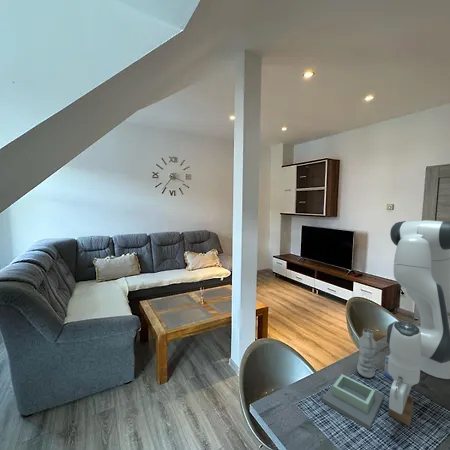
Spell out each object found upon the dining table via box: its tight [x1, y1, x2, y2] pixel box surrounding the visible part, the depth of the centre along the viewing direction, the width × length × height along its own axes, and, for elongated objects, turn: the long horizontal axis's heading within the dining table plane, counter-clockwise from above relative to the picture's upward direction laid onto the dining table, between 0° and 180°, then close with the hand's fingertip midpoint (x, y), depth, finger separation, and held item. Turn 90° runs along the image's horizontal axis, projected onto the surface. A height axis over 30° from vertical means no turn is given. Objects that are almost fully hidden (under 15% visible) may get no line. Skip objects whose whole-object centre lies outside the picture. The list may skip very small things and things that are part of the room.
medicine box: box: [383, 355, 394, 382], centre depth 103 cm, size 8×4×9 cm, turn 21°
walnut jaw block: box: [388, 394, 414, 427], centre depth 85 cm, size 4×6×8 cm, turn 44°
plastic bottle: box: [356, 328, 378, 379], centre depth 105 cm, size 6×7×20 cm
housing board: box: [321, 373, 385, 431], centre depth 93 cm, size 18×16×5 cm
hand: (400, 407), depth 85 cm, fingers closed on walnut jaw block, 4 cm apart
